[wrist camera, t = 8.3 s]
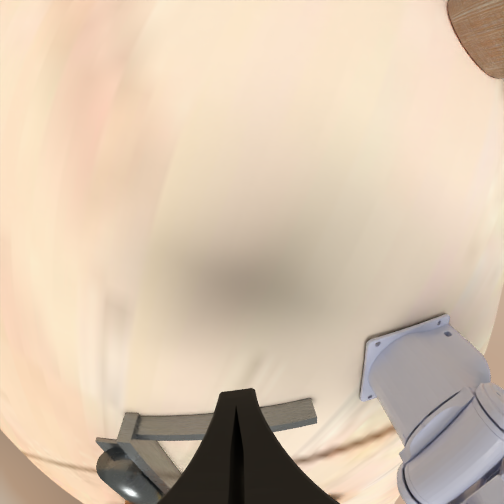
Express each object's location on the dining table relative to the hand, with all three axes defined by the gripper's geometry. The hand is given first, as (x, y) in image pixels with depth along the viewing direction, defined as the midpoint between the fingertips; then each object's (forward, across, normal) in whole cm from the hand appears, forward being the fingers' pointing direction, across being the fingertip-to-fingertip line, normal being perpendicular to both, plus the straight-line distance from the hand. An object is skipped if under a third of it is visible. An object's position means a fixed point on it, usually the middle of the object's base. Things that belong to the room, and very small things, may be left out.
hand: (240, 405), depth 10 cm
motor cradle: (+10, +4, +24) cm, 26 cm away
